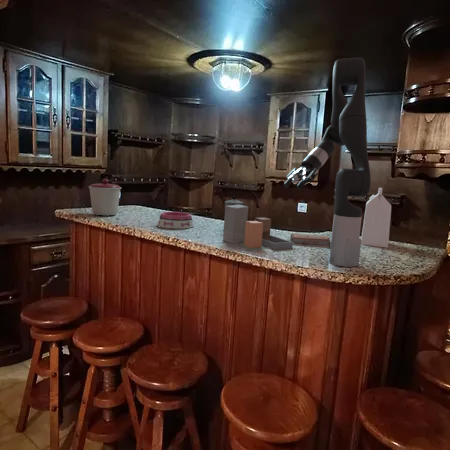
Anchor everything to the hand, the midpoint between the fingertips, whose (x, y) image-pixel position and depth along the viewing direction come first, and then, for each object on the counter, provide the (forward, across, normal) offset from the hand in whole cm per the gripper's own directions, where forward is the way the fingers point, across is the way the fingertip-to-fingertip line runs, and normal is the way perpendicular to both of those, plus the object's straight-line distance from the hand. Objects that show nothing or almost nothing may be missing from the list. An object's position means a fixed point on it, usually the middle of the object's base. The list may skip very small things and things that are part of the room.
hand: (291, 187), depth 154 cm
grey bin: (+22, -4, +13) cm, 26 cm away
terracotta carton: (+29, -1, +5) cm, 30 cm away
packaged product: (+10, +1, +26) cm, 28 cm away
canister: (+56, -99, -21) cm, 116 cm away
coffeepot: (+22, -35, +13) cm, 43 cm away
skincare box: (+31, -12, +4) cm, 33 cm away
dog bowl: (+38, -56, -2) cm, 67 cm away
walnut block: (+22, -9, +12) cm, 27 cm away
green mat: (+30, -1, +6) cm, 30 cm away
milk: (-15, +7, +50) cm, 53 cm away
